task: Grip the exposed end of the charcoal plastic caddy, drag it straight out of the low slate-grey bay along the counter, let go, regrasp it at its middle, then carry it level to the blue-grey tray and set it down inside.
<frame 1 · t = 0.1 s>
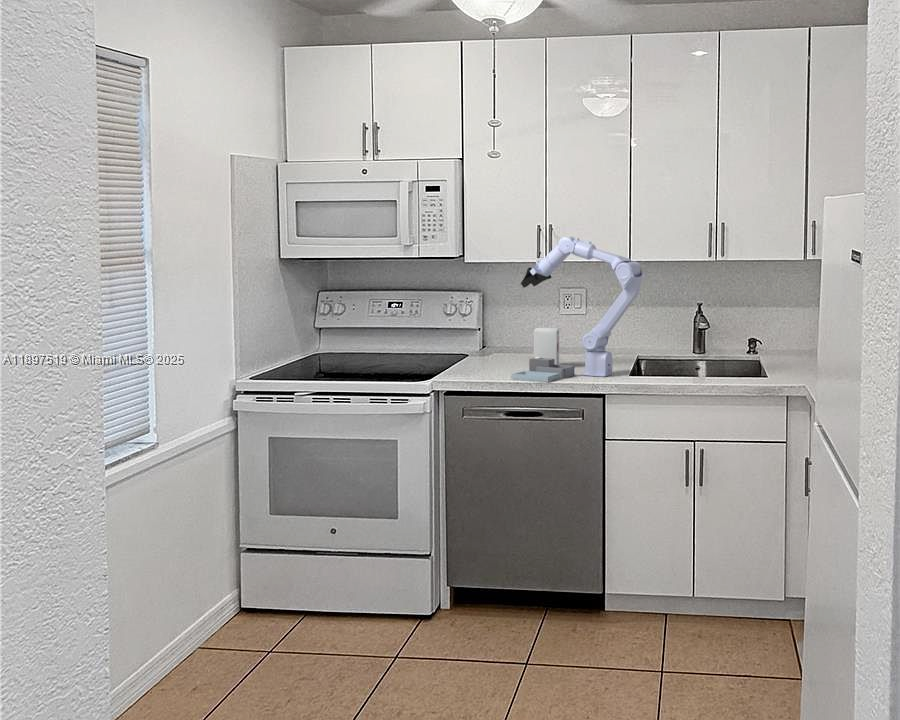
hand: (527, 284, 429), 32 cm above the worktop, tool tilted 50°, fingers open, 7 cm apart
caddy: (541, 375, 420), on the worktop
bay: (554, 375, 417), on the worktop
grey piece: (546, 368, 438), on the worktop
tray: (535, 379, 410), on the worktop
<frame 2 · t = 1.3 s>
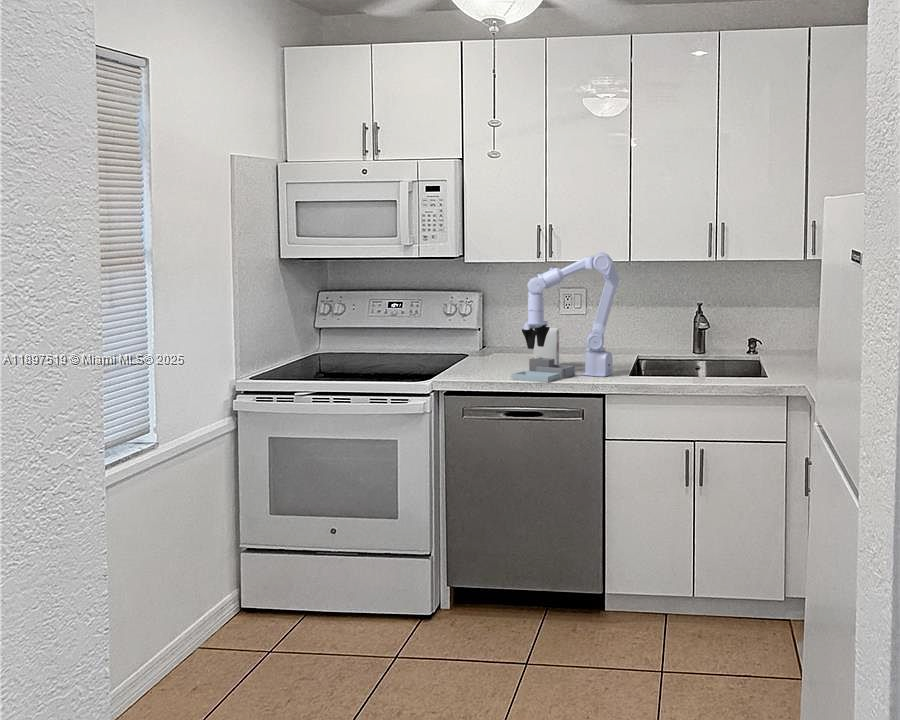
hand: (535, 347, 420), 10 cm above the worktop, tool pointing down, fingers open, 7 cm apart
nothing on the worktop moved.
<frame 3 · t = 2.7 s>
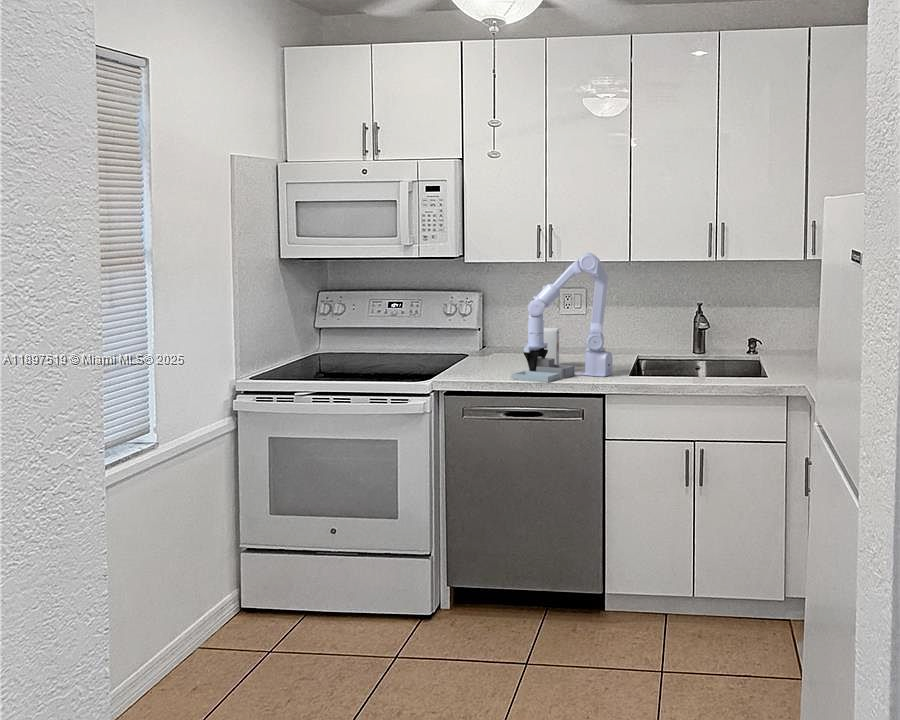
hand: (535, 370, 421), 2 cm above the worktop, tool pointing down, fingers closed on caddy, 4 cm apart
caddy: (541, 374, 420), on the worktop, touching gripper
everything else where it was.
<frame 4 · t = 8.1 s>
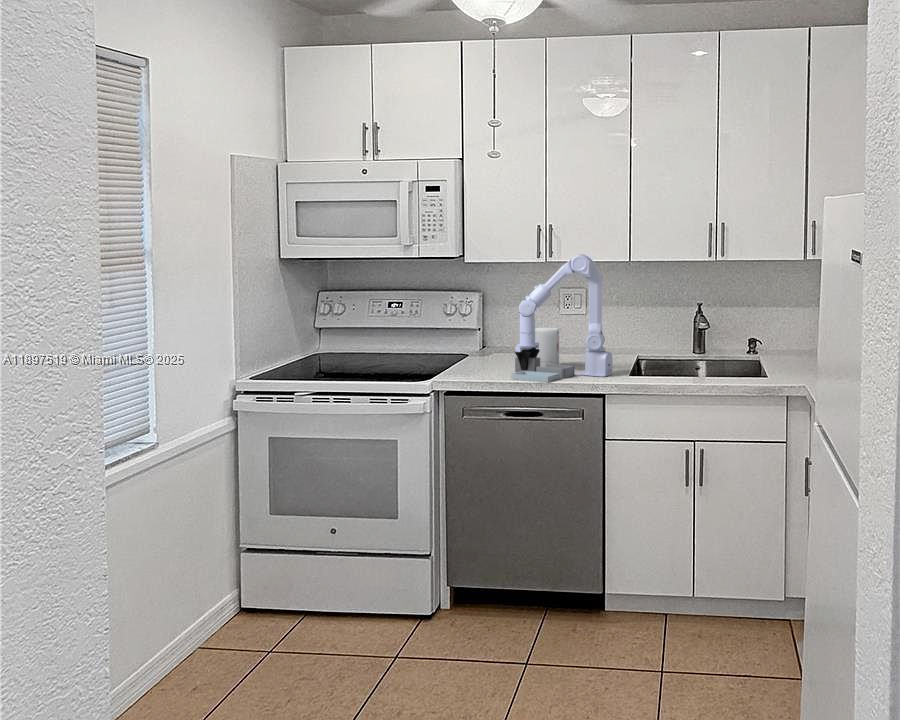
hand: (527, 369, 423), 2 cm above the worktop, tool pointing down, fingers closed on caddy, 4 cm apart
caddy: (527, 373, 423), on the worktop, touching gripper
everything else where it was.
when the fingers open (4 cm above the worktop, at t = 11.5 s): caddy drops 1 cm, resting on tray.
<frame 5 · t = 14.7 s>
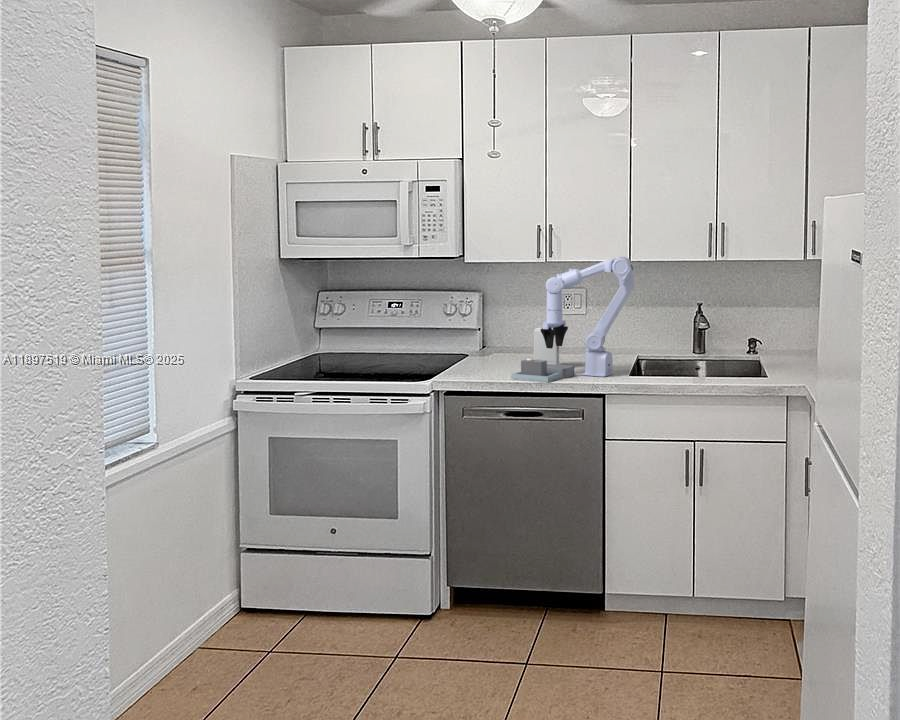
hand: (554, 347, 420), 10 cm above the worktop, tool pointing down, fingers open, 7 cm apart
caddy: (533, 377, 410), point 1 cm above the worktop, touching tray
everything else where it was.
at the end: caddy inside the target area on the tray (0.6 cm from its centre), point 0.6 cm above the tray's base; caddy tilted 0°; caddy touching tray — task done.
